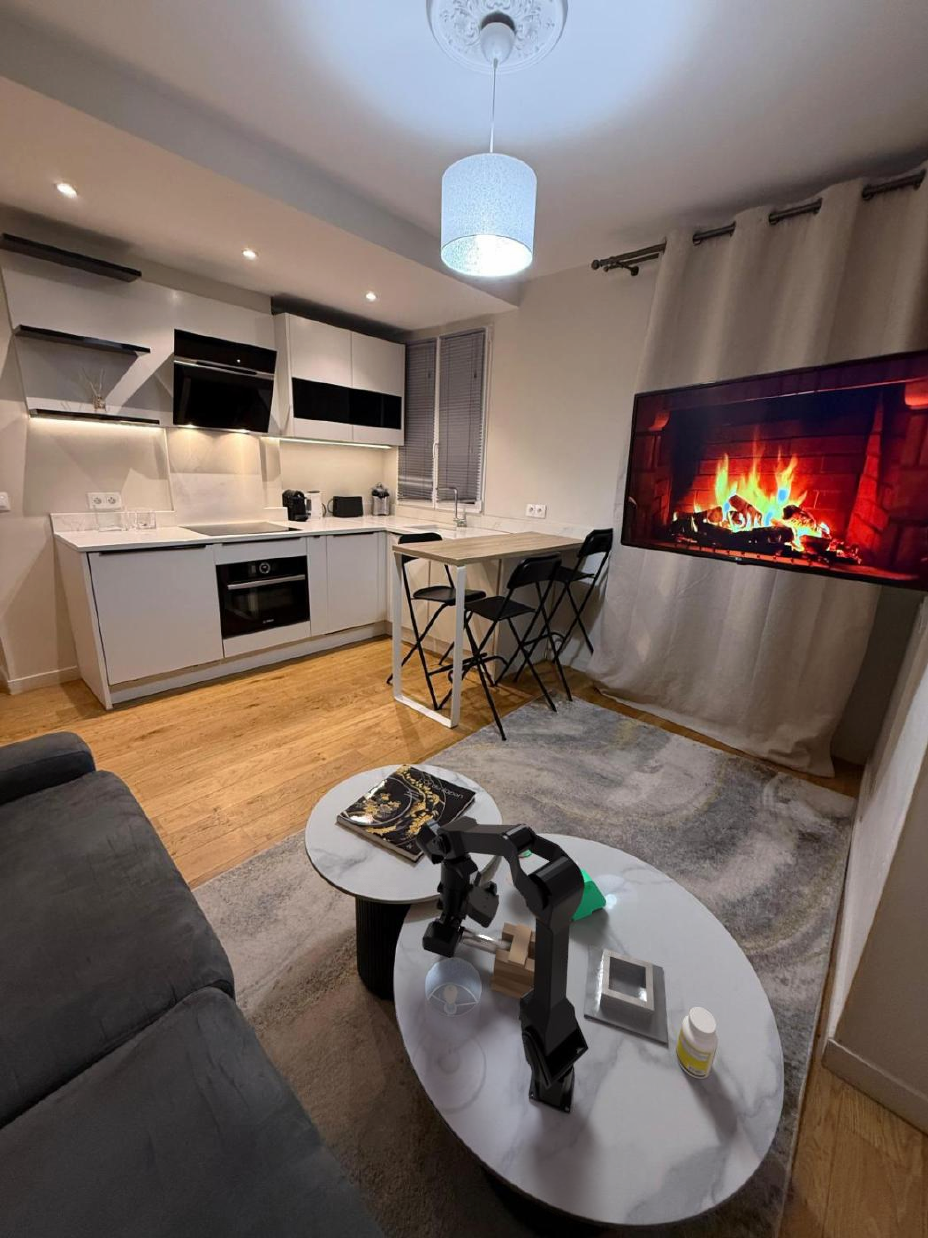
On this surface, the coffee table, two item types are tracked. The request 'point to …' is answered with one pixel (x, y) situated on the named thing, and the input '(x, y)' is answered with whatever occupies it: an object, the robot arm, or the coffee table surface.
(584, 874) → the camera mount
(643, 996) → the socket
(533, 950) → the mount
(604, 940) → the coffee table surface
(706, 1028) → the supplement bottle
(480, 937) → the pin
